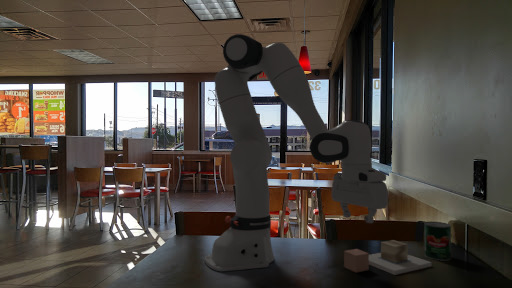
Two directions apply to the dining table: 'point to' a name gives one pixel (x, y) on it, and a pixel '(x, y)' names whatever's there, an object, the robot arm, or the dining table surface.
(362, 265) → the terracotta block
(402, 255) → the birch block
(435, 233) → the canned tomato
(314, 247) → the dining table surface
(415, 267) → the white flat square slab
